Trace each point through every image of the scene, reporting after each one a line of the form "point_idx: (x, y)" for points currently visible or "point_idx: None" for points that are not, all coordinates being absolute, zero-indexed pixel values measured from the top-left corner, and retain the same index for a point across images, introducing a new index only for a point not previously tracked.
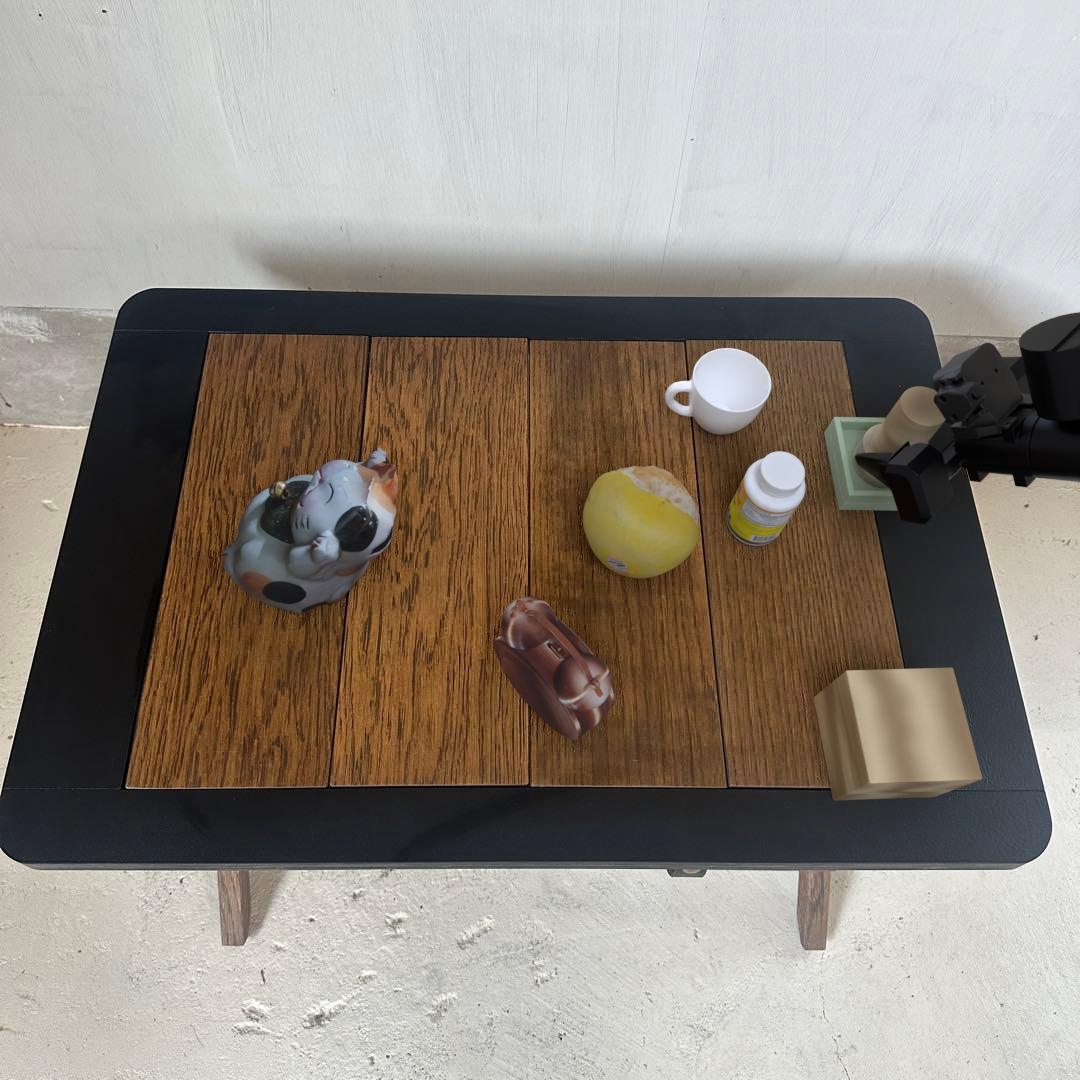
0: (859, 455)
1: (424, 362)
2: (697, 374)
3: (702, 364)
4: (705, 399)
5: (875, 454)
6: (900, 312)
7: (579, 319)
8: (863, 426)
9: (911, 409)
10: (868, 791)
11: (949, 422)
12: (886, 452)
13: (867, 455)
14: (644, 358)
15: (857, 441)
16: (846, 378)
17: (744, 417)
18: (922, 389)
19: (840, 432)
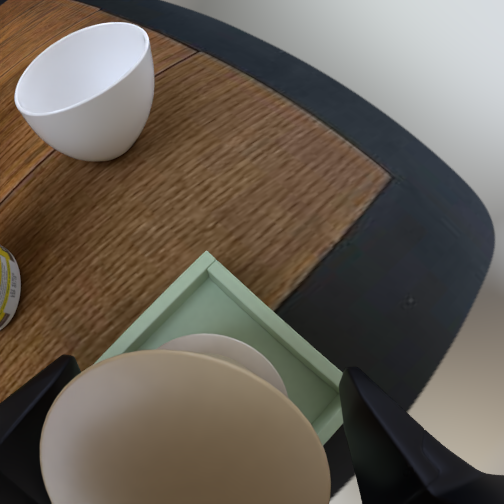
0: (52, 363)
1: (45, 10)
2: (103, 56)
3: (105, 41)
4: (23, 73)
5: (24, 401)
6: (486, 213)
7: (147, 7)
8: (253, 316)
9: (85, 448)
10: None
11: (359, 482)
12: (10, 429)
13: (35, 382)
14: None
15: (220, 331)
16: (347, 223)
17: (34, 126)
18: (275, 421)
19: (178, 287)
